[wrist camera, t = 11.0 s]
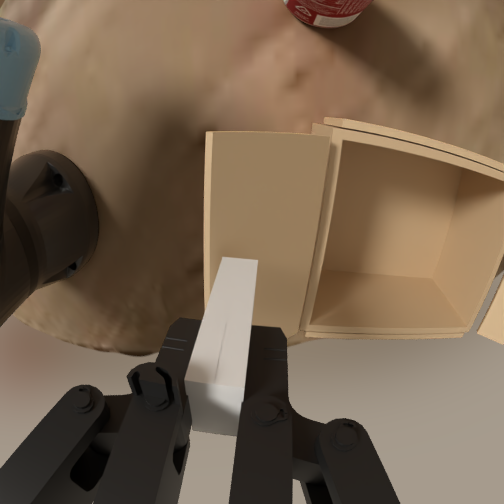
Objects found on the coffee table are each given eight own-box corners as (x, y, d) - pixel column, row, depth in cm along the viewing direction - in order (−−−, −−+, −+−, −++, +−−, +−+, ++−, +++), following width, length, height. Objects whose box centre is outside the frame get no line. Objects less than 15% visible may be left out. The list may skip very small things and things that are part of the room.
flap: (212, 132, 10) (206, 131, 11) (211, 376, 16) (207, 371, 16) (330, 136, 14) (322, 135, 15) (297, 332, 20) (292, 328, 20)
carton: (293, 275, 29) (298, 337, 21) (313, 115, 23) (334, 117, 15) (430, 285, 29) (465, 338, 21) (466, 151, 22) (525, 173, 14)
